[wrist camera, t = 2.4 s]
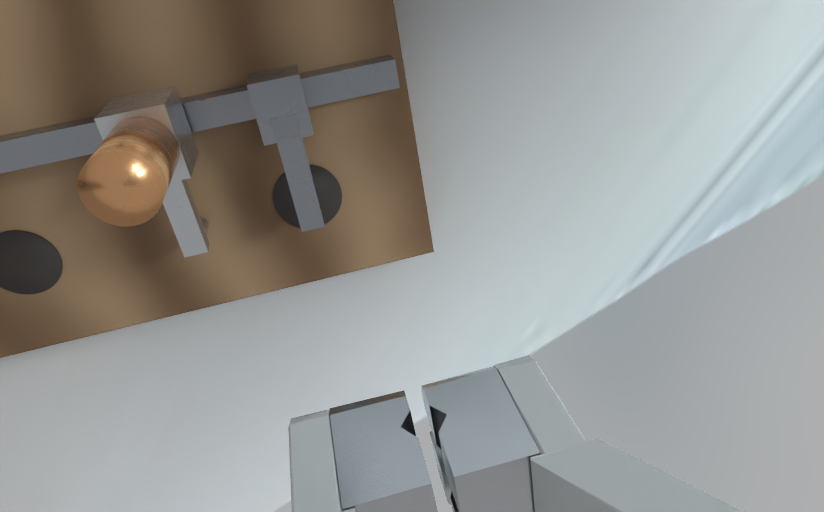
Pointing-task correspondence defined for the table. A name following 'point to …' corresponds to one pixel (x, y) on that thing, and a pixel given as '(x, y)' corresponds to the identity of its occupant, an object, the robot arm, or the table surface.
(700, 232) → the table surface
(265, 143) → the bar
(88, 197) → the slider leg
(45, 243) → the brown wooden board
